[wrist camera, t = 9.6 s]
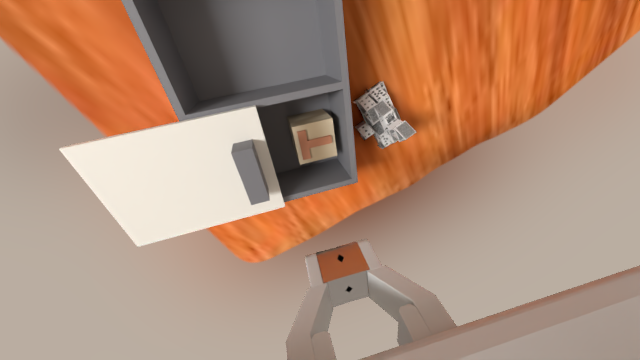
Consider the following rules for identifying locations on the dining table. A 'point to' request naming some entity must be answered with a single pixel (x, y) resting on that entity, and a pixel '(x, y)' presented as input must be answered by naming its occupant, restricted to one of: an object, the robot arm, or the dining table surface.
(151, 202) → the sliding lid
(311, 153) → the letter cube
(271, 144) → the box
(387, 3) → the dining table surface
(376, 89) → the house of cards
